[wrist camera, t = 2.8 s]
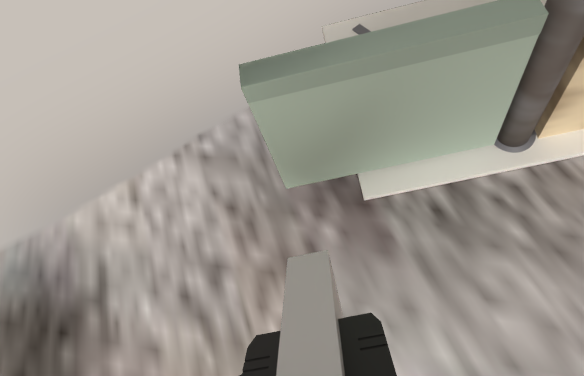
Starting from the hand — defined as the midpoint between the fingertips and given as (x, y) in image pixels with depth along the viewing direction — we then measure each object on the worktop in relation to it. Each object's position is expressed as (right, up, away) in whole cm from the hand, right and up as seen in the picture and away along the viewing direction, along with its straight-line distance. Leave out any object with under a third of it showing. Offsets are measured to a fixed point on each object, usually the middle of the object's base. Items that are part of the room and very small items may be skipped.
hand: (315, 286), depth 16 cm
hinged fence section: (+5, +5, +9) cm, 11 cm away
